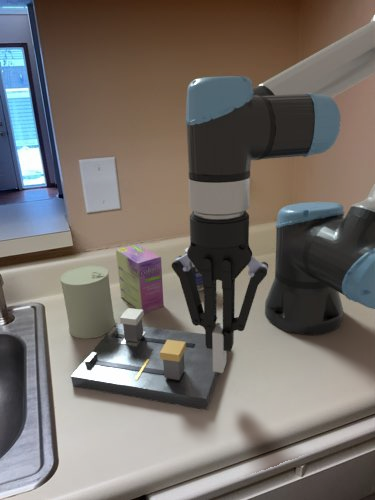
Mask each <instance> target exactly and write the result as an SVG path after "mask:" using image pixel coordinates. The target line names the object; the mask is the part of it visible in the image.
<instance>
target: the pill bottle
mask: <svg viewBox="0 0 375 500" xmlns="http://www.w3.org/2000/svg"><path fill="white" fill-rule="evenodd" d="M188 248H189V247H186V248H185V249H184V255H185V254H187V251H188ZM191 263H192V262H191ZM191 269H192V271H193V275H194V278H195V282H196V285H197V289H198V292H201V291H204V287H203V276H202V275H201V274H200V273H199V271H198V270H197V269H196V267H195V266H194V265H193V263H192V267H191Z"/></svg>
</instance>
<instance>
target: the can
mask: <svg viewBox="0 0 375 500" xmlns="http://www.w3.org/2000/svg"><path fill="white" fill-rule="evenodd" d="M109 277H110V276H109V270H108V269H107V268H106V267H103V266H100V265H82V266H77V267H73V268H72V269H69V270H67V271H65V272H64V273H63V274H61V275H60V279H59V280H60V281H59V282H60V283H61V290H62V294H63V299H64V303H65V310H66V315H67V321H68V322H67V323H68V332H69V334H70V335H71V336H73V337H74V338H77V339H82V340H84V339H85V340H86V339H87V340H90V339H95V338H99V337H101V336H104V335H106V334H107V333H108V332H109V331H110V330H111V328H112V327H113V326H114V325H115V324H116V319H115V316H114V310H113V304H112V295H111V287H110V286H111V284H110V280H109V279H110V278H109Z"/></svg>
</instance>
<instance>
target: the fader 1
mask: <svg viewBox="0 0 375 500" xmlns="http://www.w3.org/2000/svg"><path fill="white" fill-rule="evenodd" d="M144 314H145V313H143V310H141V309H136V308H130V307H129V308H127V309H126V310H125V311H124V312H123V313H122V314H121V316H120V317H119V322H120V323H119V324H123V328H124V336H125V340H127V341H134V342H138V340H139V339H140V337H141V336H142V334H143V327H144V324H143V317H144V316H145V315H144Z"/></svg>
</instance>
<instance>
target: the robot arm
mask: <svg viewBox="0 0 375 500" xmlns="http://www.w3.org/2000/svg"><path fill="white" fill-rule="evenodd" d="M374 74H375V14H374V15H373V16H372V18H371V20H370V22H368V23H367V24H365V25H364V26H362V27H360V28H358V29H356V30H354V31H352V32H351V33H349V34H347V35H345V36H343V37H342V38H340V39H338V40H337V41H334V42H333V43H332V44H331V43H330V45H328V46H326V47H324V48H323V49H321V50H319V51H317V52H316V53H315V52H314V54H311V55H310V56H308V57H307V58H305V59H303V60H301V61H299V62H297V63H296V64H293V65H292V66H290V67H288V68H287V69H285V70H283V71H281V72H279V73H277V74H276V75H274V76H272V77H270V78H268V79H267V80H266V81H263V82H262V83H259V84H258V85H257V86H255V87H254V86H253V82H252V80H251V78H250V77H248V76H238V75H236V76H235V75H226V76H224V75H223V76H208V77H206V76H205V77H199V78H195V79H194V80H192V81H190V83H189V84H188V86H187V90H186V101H185V102H186V104H185V105H186V106H185V107H186V108H185V126H186V139H187V141H186V143H187V160H188V161H187V165H188V208H189V209H190V211H192V212H191V214H189V235H190V236H189V239H190V244H189V247H187V248H188V251H187V254H185V253H184V255H178V256H177V258H175V260H174V261H173V262H172V263H171V268H172V270H173V271H174V273H175V274H176V276H177V277H178V278H179V282H180V285H181V289H182V293H183V295H184V300H185V302H186V306H187V310H188V314H189V317H190V320H191V323H192V324H193V325H194V326H196V327H197V326H200V327H202V328H203V329H204V331H205V333H204V334H205V337H206V347H207V348H209V349H213V371H214V372H219V373H221V374H223V373H224V370H225V366H226V364H227V352H231V351H232V350H233V346H234V342H235V341H234V340H235V339H234V338H235V337H234V336H235V335H234V334H235V331H239V332H243V331H244V330H245V328H246V325H247V322H248V319H249V316H250V312H251V309H252V305H253V303H254V299H255V296H256V294H257V290H258V287H259V285H260V284H261V283H262V281H263V280H264V279H265V278H266V276H267V275H268V269H269V264H268V262H265V261H262V262H261V261H259V260H258V259H256V257H253V252H252V249H251V247H250V244H249V243H250V241H249V239H250V232H249V230H250V214H249V213H248V209H249V208H250V202H251V201H250V199H251V198H250V196H251V195H250V194H251V193H250V191H251V189H250V188H251V185H250V184H251V167H252V165H251V164H252V161H261V160H264V159H265V160H268V159H280V158H281V159H282V158H295V157H303V158H307V157H309V156H314V155H321V154H323V153H325V152H327V151H329V150H330V149H331V148H332V147H333V146H334V144H335V142H336V141H337V139H338V137H339V134H340V130H341V129H340V127H341V121H342V119H341V118H342V117H341V113H340V109H339V106H338V104H337V102H336V101H335V100H334V99H333V98H335V97H336V96H338V95H340V94H341V93H343V92H345V91H347V90H349V89H350V88H352V87H353V86H355V85H357V84H359V83H361V82H362V81H364V80H366V79H367V78H369V77H371V76H373V75H374ZM344 215H345V210H344V205H342V204H340V203H338V202H330V201H329V202H327V201H313V202H300V203H292V204H288V205H285V206H283V207H282V208H280V210H278V213H277V219H276V225H275V229H276V235H275V238H276V240H275V241H276V242H275V260H274V261H275V265H274V268H275V270H274V279H273V282H272V284H271V286H270V289H269V292H268V294H267V297H266V299H265V303H264V304H265V305H264V314H265V315H264V316H265V317H266V318H267V320H268V321H269V322H270V323H271V324H272V325H274V326H276V327H277V328H279V329H281V330H284V331H287V332H289V333H294V334H299V335H313V336H314V335H323V334H326V333H330V332H333V331H334V330H336V329H338V328H340V326H341V325H342V323H343V315H344V308H343V303H342V301H341V296H340V294H341V295H343V296H344V297H345V298H346V299H348V300H350V301H351V302H355V303H357V304H360V305H362V306H365V307H366V308H369V309H372V310H375V183H374V184H373V185H372V188H371V190H370V192H369V193H368V195H367V197H366V198H365V199H364V200H362V201H360V202H357V203H353V204H352V205H351V206H350V208H349V209H348V211H347V213H346V215H345V217H344ZM191 262H192V263H193V265H194V266H195V267H196V269H197V270H198V271H199V273H200V274H201V275H202V276H203V287H204V289H203V305H202V301H201V296H200V293H199V291H198V289H197V285H196V282H195V278H194V275H193V271H192V269H191V267H192V263H191ZM247 266H248V271H247V272H248V276H249V277H250V279H249V282H248V285H247V288H246V292H245V295H244V298H243V300H242V301H243V302H242V304H241V308H240V310H239V311H240V312H239V315H238V316H236V317H235V306H236V305H235V304H236V303H235V291H236V288H235V287H236V285H235V284H236V278H238V276H240V274H241V273H242V271H244V270H245V268H246V267H247ZM217 280H218V281H221V289H222V322H221V323H220V322H217V320H218V316H217Z"/></svg>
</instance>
